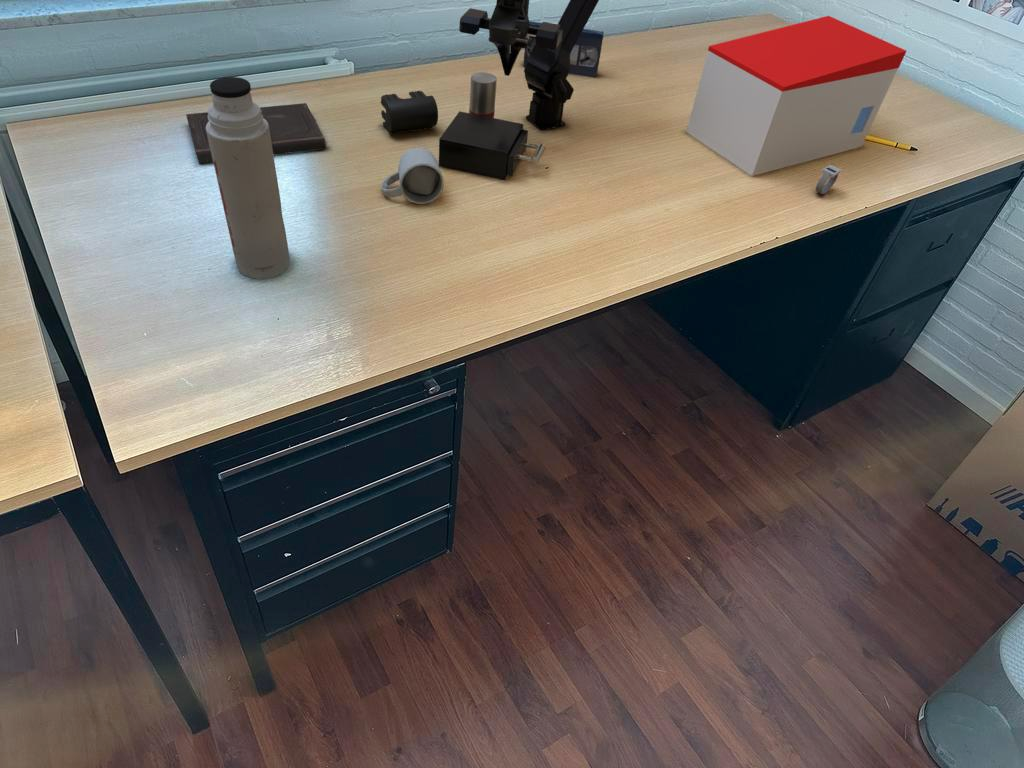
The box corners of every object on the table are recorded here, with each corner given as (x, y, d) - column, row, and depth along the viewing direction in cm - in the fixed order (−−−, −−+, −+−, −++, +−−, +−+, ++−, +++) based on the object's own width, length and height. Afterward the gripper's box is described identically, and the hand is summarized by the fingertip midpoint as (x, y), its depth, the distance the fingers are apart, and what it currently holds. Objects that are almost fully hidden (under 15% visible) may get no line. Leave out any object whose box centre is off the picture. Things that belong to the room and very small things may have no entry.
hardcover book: (188, 125, 139) (185, 114, 138) (307, 113, 147) (306, 102, 145) (199, 165, 129) (196, 153, 128) (326, 150, 137) (324, 138, 136)
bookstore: (862, 146, 160) (907, 50, 145) (751, 176, 145) (789, 72, 130) (794, 107, 172) (829, 15, 157) (685, 131, 157) (712, 32, 142)
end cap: (391, 140, 142) (390, 107, 137) (379, 125, 146) (378, 92, 142) (438, 134, 146) (438, 101, 141) (425, 119, 150) (425, 87, 145)
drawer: (546, 154, 142) (549, 134, 139) (533, 181, 134) (536, 161, 131) (467, 137, 144) (468, 118, 141) (450, 163, 136) (450, 143, 133)
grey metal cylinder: (485, 117, 153) (488, 70, 146) (498, 128, 150) (501, 81, 143) (464, 121, 151) (466, 74, 144) (476, 132, 148) (478, 84, 141)
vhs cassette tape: (522, 66, 175) (526, 23, 168) (524, 62, 177) (528, 19, 170) (596, 78, 174) (603, 35, 167) (597, 73, 176) (604, 31, 169)
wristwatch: (823, 184, 145) (833, 162, 142) (835, 190, 144) (845, 167, 141) (808, 194, 142) (818, 171, 139) (820, 200, 141) (831, 177, 137)
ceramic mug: (437, 180, 133) (437, 141, 127) (443, 203, 127) (444, 164, 122) (379, 182, 131) (377, 143, 125) (383, 206, 125) (381, 166, 120)
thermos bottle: (231, 278, 107) (189, 94, 88) (241, 247, 113) (203, 68, 93) (286, 279, 108) (256, 98, 89) (293, 249, 114) (266, 72, 94)
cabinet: (520, 151, 144) (523, 123, 140) (504, 180, 135) (507, 152, 131) (458, 138, 145) (459, 111, 141) (438, 166, 137) (439, 138, 133)
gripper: (451, -9, 124) (449, 81, 135) (556, 10, 121) (544, 100, 132) (470, -26, 131) (466, 60, 142) (568, -9, 129) (556, 78, 140)
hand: (507, 74), depth 139 cm, fingers closed
